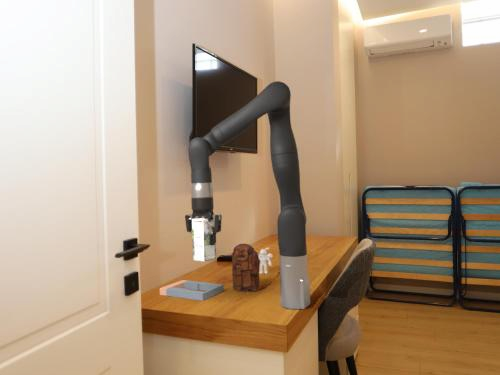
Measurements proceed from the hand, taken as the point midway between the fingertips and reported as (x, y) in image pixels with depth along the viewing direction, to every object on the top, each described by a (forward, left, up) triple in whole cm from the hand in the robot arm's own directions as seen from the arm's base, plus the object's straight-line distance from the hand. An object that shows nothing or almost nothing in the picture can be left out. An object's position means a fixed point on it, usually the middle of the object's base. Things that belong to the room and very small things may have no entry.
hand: (204, 244), depth 136 cm
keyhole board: (+14, -11, -21) cm, 28 cm away
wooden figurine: (-3, -23, -21) cm, 31 cm away
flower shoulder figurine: (+3, -51, -21) cm, 55 cm away
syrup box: (0, 0, -5) cm, 5 cm away
